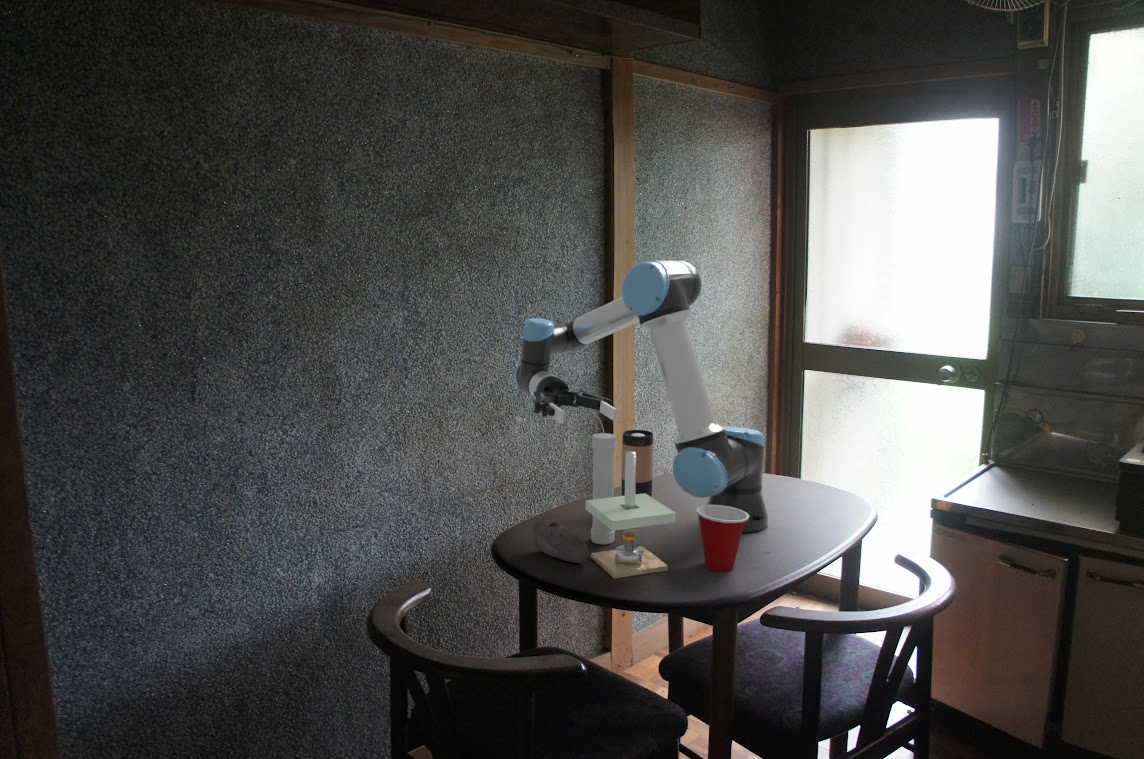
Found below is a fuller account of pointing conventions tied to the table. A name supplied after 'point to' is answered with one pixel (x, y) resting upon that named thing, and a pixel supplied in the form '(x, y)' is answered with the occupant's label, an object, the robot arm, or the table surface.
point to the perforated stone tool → (559, 542)
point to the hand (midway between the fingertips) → (589, 416)
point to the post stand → (629, 539)
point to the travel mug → (639, 459)
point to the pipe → (602, 480)
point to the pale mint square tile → (630, 512)
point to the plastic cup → (721, 534)
